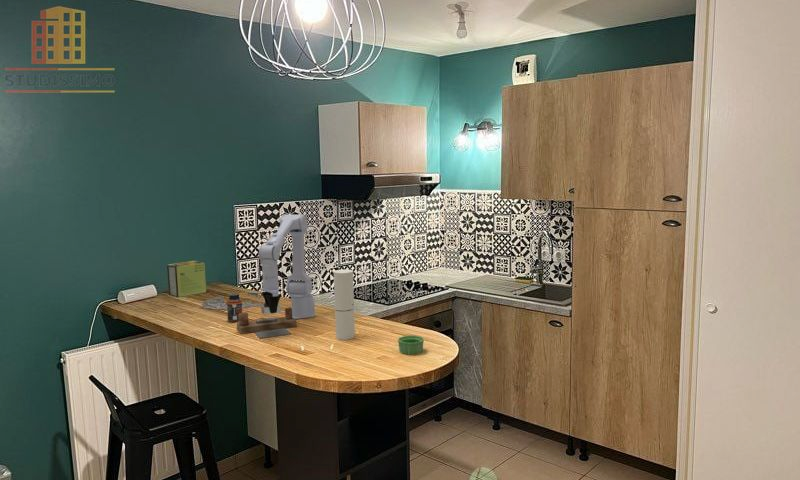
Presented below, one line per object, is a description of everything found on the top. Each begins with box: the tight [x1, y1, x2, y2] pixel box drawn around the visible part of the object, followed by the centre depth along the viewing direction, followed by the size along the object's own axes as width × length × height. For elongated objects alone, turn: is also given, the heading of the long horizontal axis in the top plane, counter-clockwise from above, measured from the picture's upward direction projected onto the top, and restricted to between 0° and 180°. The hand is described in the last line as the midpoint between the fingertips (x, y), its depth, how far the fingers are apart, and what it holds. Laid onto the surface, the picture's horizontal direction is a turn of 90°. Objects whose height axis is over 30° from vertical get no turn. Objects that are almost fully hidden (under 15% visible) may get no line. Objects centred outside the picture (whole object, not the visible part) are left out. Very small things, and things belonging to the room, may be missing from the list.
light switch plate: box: [260, 303, 282, 316], centre depth 234 cm, size 6×4×4 cm
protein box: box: [166, 260, 207, 298], centre depth 310 cm, size 10×15×16 cm
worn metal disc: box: [201, 292, 265, 311], centre depth 291 cm, size 33×35×1 cm
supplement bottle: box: [226, 292, 243, 323], centre depth 255 cm, size 6×6×11 cm
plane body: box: [236, 306, 298, 335], centre depth 243 cm, size 22×8×7 cm, turn 116°
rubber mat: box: [254, 328, 292, 339], centre depth 235 cm, size 12×8×1 cm, turn 116°
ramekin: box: [397, 335, 425, 355], centre depth 211 cm, size 9×9×4 cm
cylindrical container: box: [333, 269, 356, 341], centre depth 228 cm, size 7×7×25 cm
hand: (271, 311), depth 234 cm, fingers closed on light switch plate, 4 cm apart
